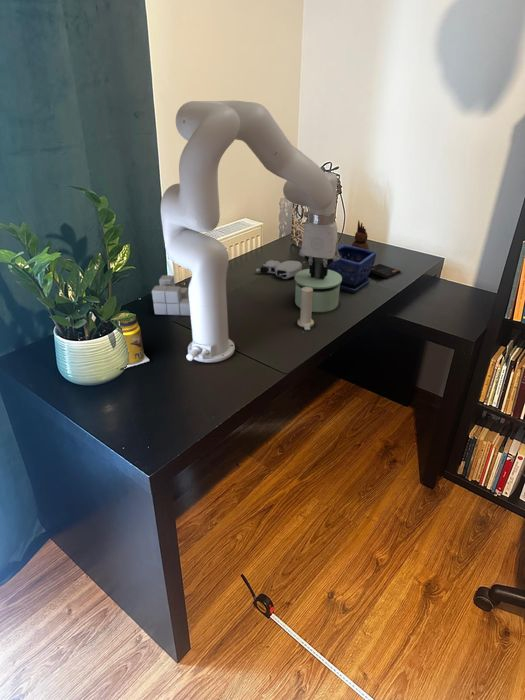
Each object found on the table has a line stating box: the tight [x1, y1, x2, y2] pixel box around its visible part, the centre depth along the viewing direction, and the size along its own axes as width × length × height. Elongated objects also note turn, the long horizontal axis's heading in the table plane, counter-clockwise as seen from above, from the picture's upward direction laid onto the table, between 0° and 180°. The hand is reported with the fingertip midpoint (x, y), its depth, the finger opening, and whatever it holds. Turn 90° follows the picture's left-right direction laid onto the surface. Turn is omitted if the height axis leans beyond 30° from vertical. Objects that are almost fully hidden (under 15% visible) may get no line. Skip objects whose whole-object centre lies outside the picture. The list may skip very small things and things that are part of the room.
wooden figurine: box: [351, 220, 370, 261], centre depth 186 cm, size 7×6×15 cm
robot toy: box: [255, 259, 306, 280], centre depth 177 cm, size 12×4×15 cm
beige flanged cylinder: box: [296, 287, 315, 331], centre depth 143 cm, size 9×5×12 cm, turn 3°
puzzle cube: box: [151, 274, 191, 317], centre depth 154 cm, size 12×12×8 cm
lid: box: [294, 259, 342, 289], centre depth 152 cm, size 15×15×6 cm
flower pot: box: [328, 244, 377, 294], centre depth 166 cm, size 13×13×12 cm
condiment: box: [120, 315, 150, 369], centre depth 127 cm, size 7×8×12 cm
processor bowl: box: [294, 281, 341, 313], centre depth 156 cm, size 14×14×7 cm
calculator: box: [370, 263, 401, 279], centre depth 178 cm, size 9×12×3 cm
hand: (318, 276), depth 153 cm, fingers closed on lid, 2 cm apart
